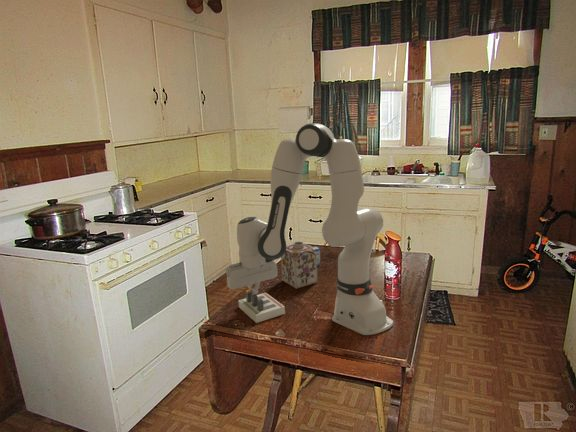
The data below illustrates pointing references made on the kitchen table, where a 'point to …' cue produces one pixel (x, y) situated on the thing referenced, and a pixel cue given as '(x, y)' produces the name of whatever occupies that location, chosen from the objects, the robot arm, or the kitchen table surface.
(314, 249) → the medicine box
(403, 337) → the kitchen table surface
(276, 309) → the breaker box
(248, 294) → the breaker handle
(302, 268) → the decorative jar
